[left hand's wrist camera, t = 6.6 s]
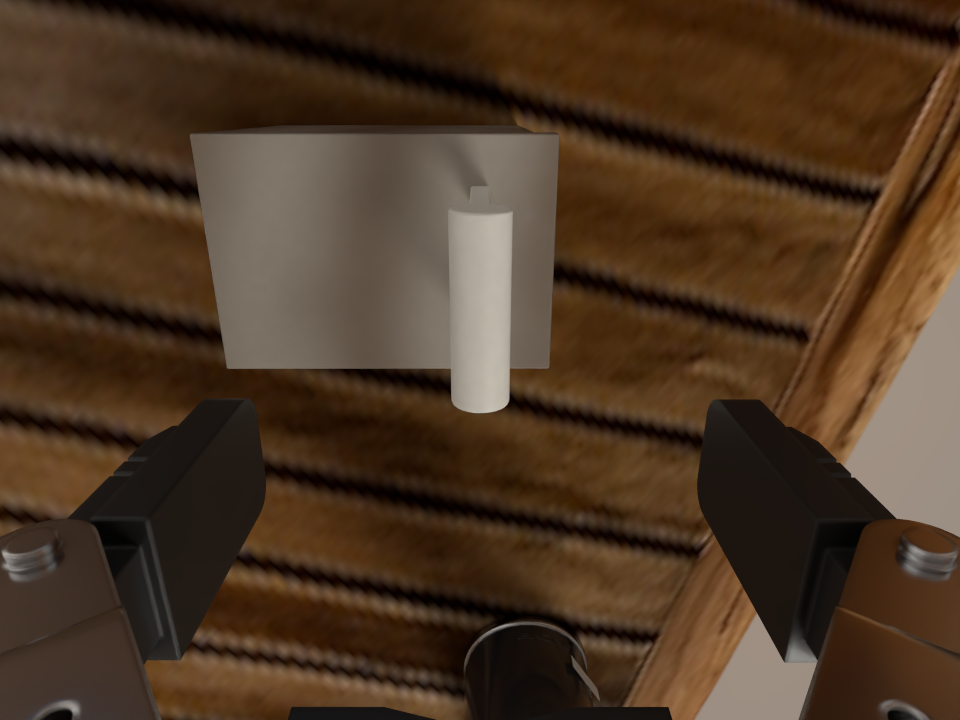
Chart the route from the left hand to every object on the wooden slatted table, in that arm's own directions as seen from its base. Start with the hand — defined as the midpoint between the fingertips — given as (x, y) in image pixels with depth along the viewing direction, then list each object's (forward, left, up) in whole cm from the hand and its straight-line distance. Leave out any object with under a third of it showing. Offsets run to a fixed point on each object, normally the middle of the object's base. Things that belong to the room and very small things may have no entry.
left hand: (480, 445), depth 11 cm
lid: (-1, +4, -16) cm, 17 cm away
